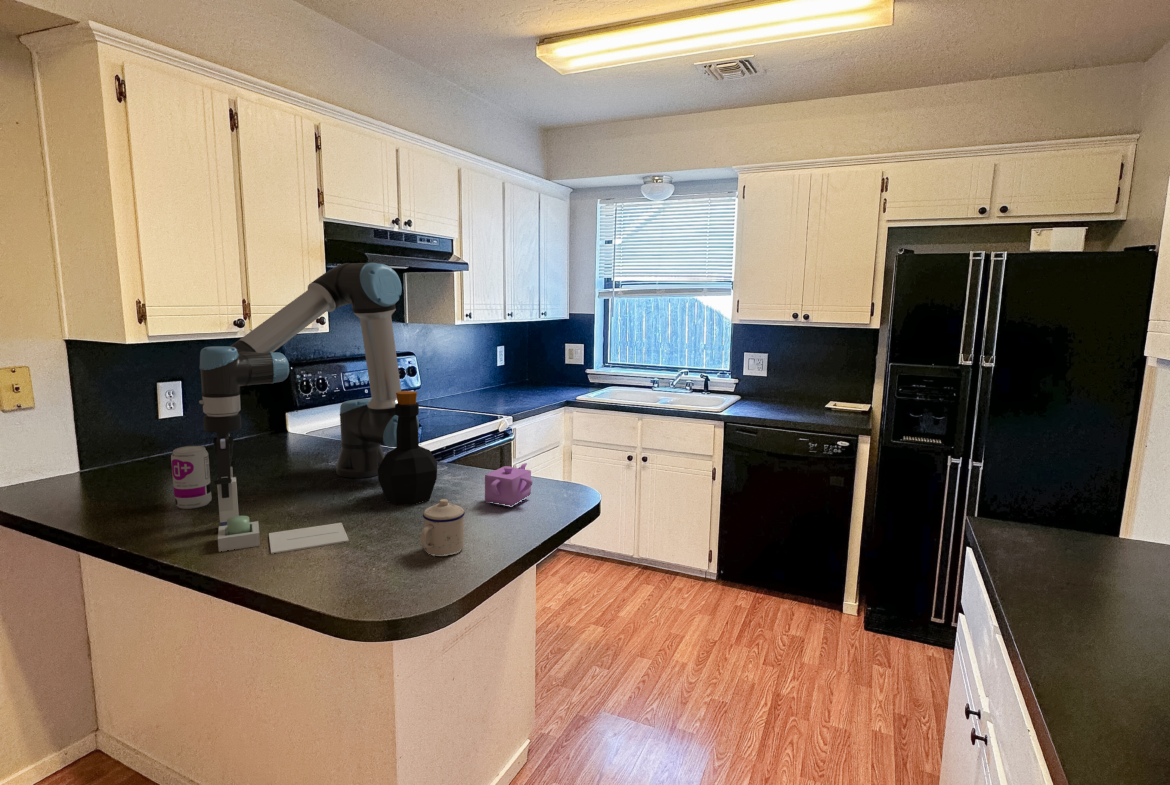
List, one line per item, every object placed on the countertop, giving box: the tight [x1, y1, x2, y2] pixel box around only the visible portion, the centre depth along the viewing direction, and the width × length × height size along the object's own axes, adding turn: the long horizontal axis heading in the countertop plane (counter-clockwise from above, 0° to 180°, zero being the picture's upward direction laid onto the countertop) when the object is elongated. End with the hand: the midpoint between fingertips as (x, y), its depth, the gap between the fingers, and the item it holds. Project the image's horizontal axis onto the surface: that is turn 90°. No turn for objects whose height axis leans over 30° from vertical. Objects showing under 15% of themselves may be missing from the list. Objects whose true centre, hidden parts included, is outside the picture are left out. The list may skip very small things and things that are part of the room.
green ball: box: [227, 515, 251, 535], centre depth 141 cm, size 4×4×4 cm
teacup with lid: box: [419, 498, 466, 555], centre depth 138 cm, size 12×9×12 cm
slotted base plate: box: [268, 522, 350, 555], centre depth 145 cm, size 16×12×1 cm
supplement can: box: [170, 445, 213, 510], centre depth 163 cm, size 8×8×15 cm
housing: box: [217, 520, 261, 553], centre depth 141 cm, size 8×8×3 cm
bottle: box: [377, 390, 438, 506], centre depth 171 cm, size 16×16×30 cm
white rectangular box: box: [216, 476, 240, 526], centre depth 148 cm, size 4×4×12 cm
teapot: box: [484, 463, 533, 506], centre depth 172 cm, size 18×14×10 cm
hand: (226, 501), depth 148 cm, fingers open, 13 cm apart
